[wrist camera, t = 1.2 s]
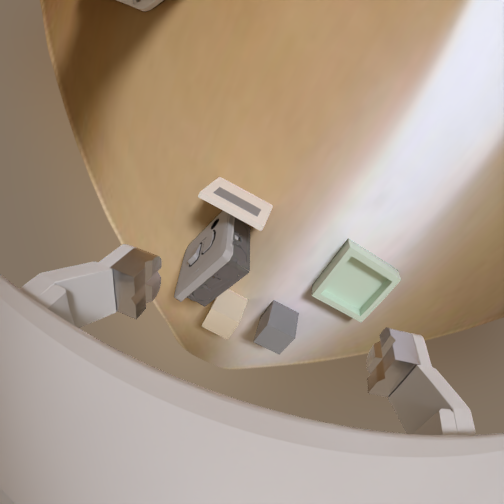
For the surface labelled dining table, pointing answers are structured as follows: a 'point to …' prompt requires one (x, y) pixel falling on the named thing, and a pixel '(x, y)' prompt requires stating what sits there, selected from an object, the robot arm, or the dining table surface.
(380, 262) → the tray
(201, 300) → the electrical switch
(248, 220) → the label plate
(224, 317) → the beige part
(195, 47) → the dining table surface
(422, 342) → the robot arm
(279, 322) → the grey part
